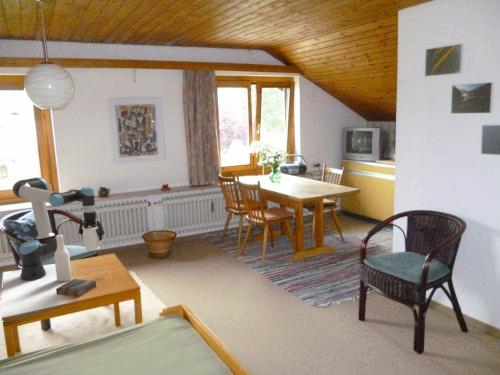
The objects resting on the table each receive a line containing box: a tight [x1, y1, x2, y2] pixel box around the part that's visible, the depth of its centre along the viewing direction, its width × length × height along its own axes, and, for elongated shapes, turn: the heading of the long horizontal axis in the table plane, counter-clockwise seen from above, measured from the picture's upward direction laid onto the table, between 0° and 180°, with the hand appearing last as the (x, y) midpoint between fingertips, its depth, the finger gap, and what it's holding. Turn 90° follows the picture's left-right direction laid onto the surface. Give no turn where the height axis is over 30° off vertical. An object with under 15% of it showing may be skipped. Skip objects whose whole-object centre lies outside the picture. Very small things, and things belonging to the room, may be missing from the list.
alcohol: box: [53, 234, 73, 283], centre depth 279 cm, size 9×9×30 cm
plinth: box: [55, 278, 97, 298], centre depth 263 cm, size 16×16×4 cm
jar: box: [82, 226, 101, 252], centre depth 277 cm, size 11×10×15 cm
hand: (92, 244), depth 278 cm, fingers closed on jar, 10 cm apart
